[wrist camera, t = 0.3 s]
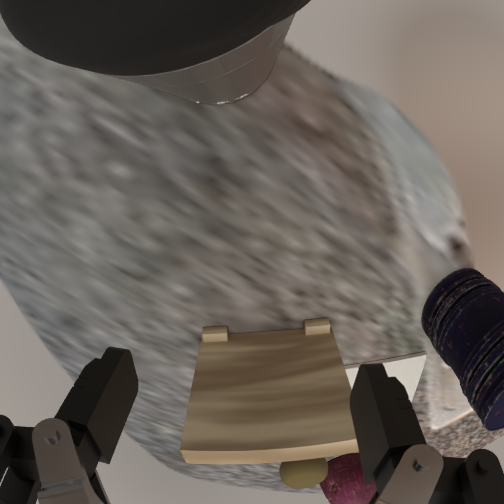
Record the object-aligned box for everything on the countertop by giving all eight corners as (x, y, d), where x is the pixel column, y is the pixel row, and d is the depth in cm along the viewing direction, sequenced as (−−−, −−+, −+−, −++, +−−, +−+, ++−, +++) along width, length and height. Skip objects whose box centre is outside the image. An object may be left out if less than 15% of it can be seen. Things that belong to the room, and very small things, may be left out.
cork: (315, 388, 35) (330, 465, 25) (323, 416, 37) (337, 486, 27) (266, 400, 36) (269, 477, 26) (279, 427, 38) (284, 497, 28)
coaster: (331, 367, 34) (332, 370, 33) (425, 351, 34) (427, 354, 33) (324, 427, 39) (325, 431, 38) (404, 412, 38) (406, 415, 38)
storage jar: (409, 342, 33) (464, 442, 19) (435, 265, 29) (522, 355, 15) (470, 338, 33) (528, 418, 19) (497, 269, 29) (577, 340, 16)
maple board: (200, 327, 32) (176, 442, 19) (330, 317, 31) (368, 429, 18) (206, 357, 33) (189, 469, 20) (328, 347, 33) (359, 457, 20)
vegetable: (372, 434, 45) (420, 492, 31) (364, 468, 48) (402, 521, 33) (315, 455, 43) (356, 524, 28) (312, 487, 45) (346, 548, 31)
